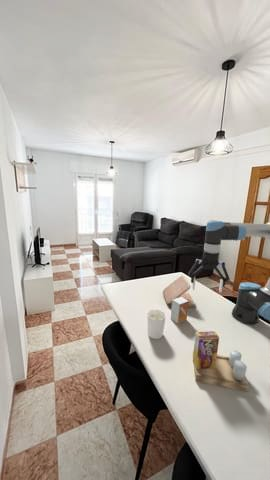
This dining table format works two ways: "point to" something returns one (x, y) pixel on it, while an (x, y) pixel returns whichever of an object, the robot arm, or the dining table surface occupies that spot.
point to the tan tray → (220, 375)
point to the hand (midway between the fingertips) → (206, 290)
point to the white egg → (234, 357)
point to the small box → (179, 309)
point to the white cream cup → (156, 323)
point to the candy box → (205, 350)
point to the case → (178, 291)
